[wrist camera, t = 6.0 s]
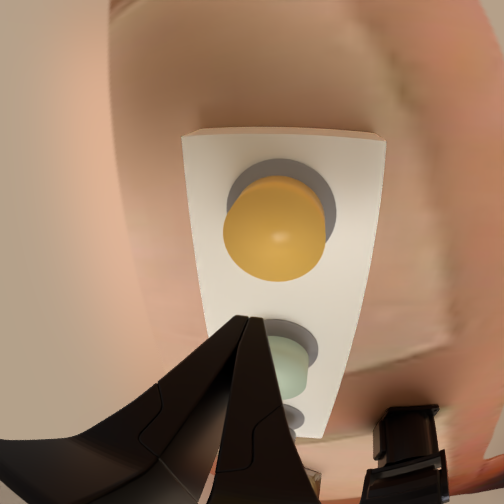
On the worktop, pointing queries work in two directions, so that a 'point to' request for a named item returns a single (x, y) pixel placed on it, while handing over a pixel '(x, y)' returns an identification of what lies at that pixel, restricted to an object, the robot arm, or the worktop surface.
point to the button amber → (276, 229)
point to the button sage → (289, 366)
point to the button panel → (316, 280)
